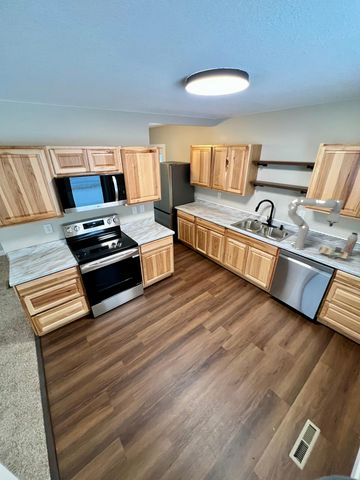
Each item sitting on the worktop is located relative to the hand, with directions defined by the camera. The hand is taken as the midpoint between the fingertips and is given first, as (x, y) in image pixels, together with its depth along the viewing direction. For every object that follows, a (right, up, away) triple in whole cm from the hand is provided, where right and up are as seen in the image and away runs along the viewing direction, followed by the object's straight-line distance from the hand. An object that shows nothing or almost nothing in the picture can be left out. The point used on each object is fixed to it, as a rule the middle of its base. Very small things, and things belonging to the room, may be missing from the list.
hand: (330, 226), depth 220 cm
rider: (+4, -31, -4) cm, 31 cm away
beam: (+2, -35, +1) cm, 36 cm away
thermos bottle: (+22, -33, +4) cm, 40 cm away
